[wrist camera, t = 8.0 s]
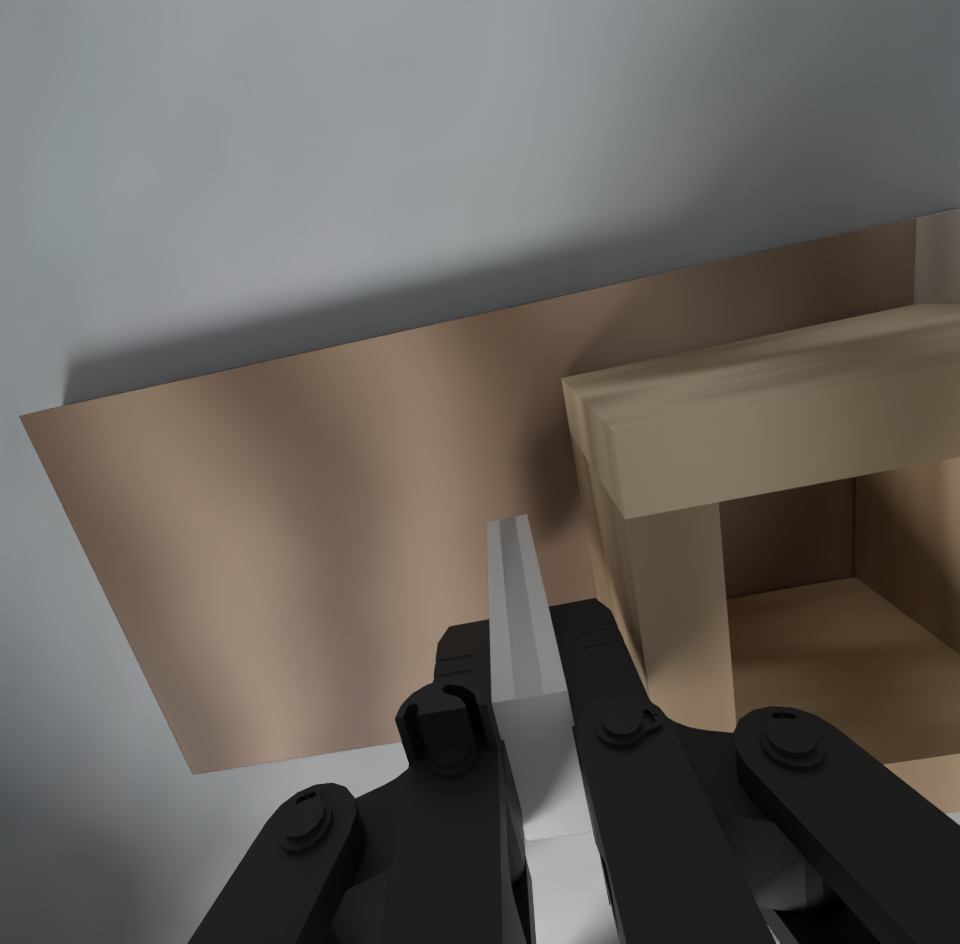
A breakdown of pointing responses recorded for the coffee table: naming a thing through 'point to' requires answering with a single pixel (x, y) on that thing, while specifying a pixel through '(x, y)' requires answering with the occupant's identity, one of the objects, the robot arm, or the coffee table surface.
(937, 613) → the open wooden box
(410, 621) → the board
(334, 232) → the coffee table surface
